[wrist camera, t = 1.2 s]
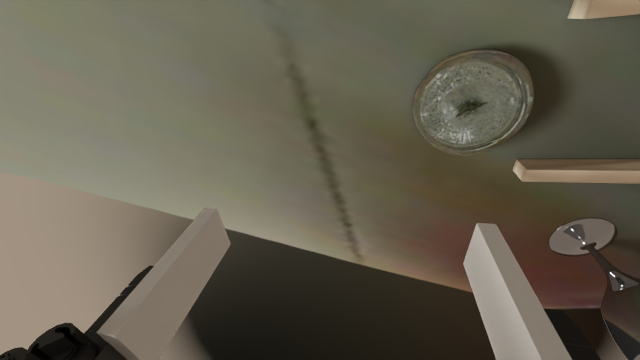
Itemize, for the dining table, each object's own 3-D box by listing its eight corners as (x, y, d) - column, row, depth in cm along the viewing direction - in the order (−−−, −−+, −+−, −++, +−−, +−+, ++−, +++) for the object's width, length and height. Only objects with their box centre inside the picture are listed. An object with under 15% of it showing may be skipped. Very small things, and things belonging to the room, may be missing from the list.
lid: (486, 150, 30) (504, 172, 26) (401, 138, 31) (405, 157, 27) (536, 51, 24) (570, 60, 20) (429, 40, 25) (440, 46, 21)
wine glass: (530, 243, 36) (611, 364, 24) (586, 206, 31) (722, 331, 19) (576, 265, 36) (678, 394, 24) (637, 232, 32) (800, 369, 20)
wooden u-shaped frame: (574, -3, 21) (595, -5, 19) (819, -30, 18) (875, -35, 16) (512, 170, 31) (522, 181, 28) (669, 171, 27) (692, 184, 25)
